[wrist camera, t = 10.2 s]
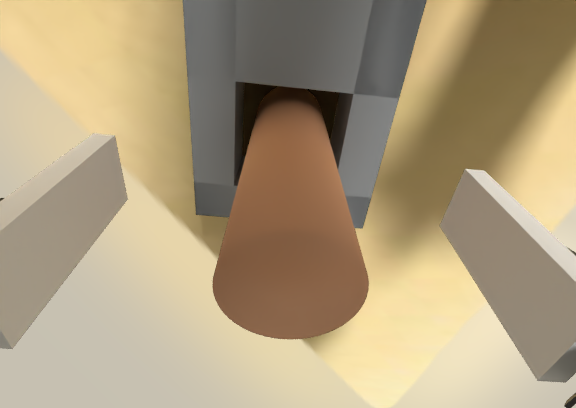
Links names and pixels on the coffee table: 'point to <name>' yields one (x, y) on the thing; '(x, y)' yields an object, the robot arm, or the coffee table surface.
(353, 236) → the dowel
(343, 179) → the socket board
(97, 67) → the coffee table surface
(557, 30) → the coffee table surface
